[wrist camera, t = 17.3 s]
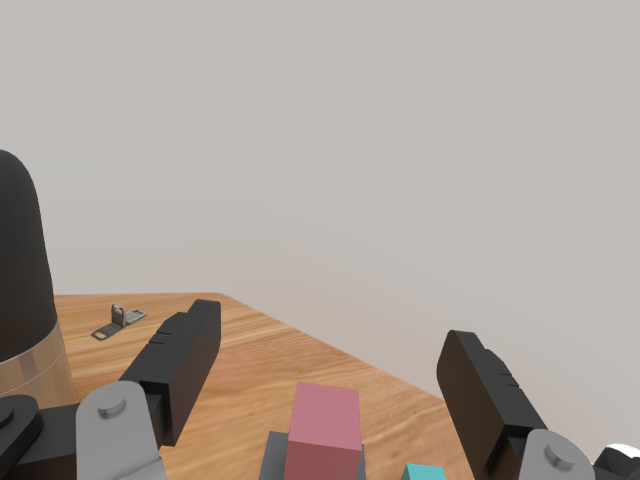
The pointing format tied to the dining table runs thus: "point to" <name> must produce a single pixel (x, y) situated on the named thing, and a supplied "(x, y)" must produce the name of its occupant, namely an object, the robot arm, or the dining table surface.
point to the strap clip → (119, 321)
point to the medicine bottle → (619, 459)
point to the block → (423, 472)
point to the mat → (277, 456)
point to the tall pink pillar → (323, 434)
